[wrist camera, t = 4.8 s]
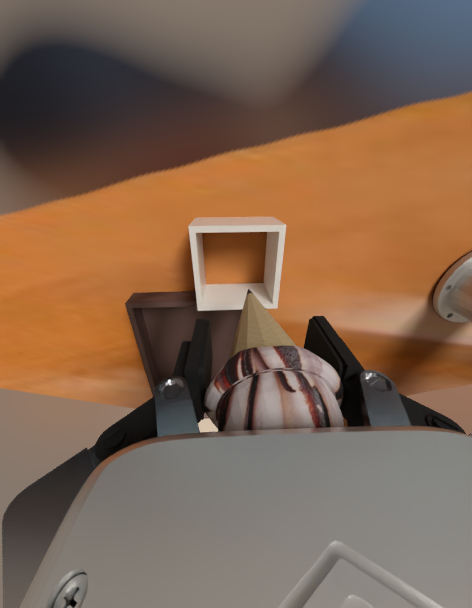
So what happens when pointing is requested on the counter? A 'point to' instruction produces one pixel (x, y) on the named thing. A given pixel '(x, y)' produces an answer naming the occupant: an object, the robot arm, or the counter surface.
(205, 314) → the tray
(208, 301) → the frame
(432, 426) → the robot arm
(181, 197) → the counter surface
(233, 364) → the ice cream cone
